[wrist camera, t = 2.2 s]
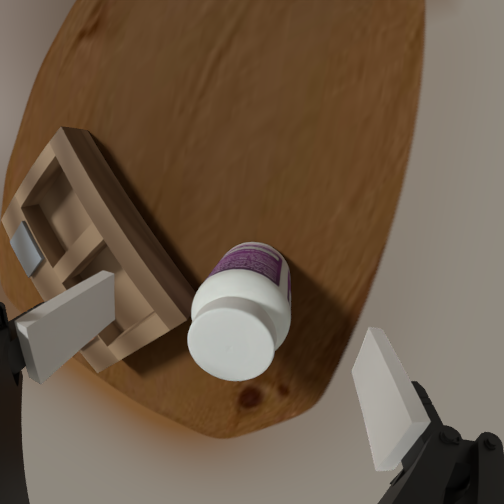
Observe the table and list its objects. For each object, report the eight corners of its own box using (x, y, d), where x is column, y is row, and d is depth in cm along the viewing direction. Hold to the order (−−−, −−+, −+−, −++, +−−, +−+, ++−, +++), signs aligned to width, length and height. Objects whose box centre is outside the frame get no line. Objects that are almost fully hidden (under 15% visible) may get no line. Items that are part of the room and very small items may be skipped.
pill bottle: (204, 268, 22) (149, 330, 13) (260, 225, 21) (235, 266, 11) (249, 321, 23) (223, 406, 13) (305, 284, 21) (313, 360, 12)
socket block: (87, 130, 20) (57, 126, 17) (201, 299, 23) (185, 322, 19) (25, 214, 23) (-2, 220, 19) (115, 354, 26) (95, 375, 22)
